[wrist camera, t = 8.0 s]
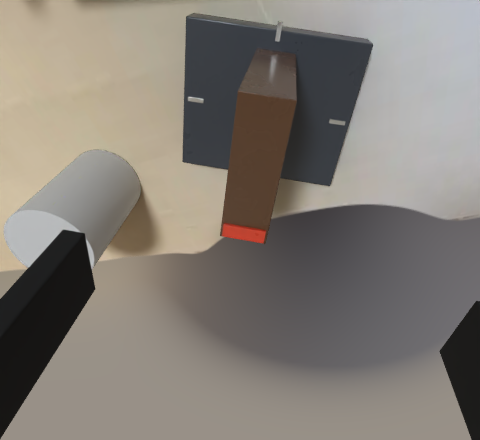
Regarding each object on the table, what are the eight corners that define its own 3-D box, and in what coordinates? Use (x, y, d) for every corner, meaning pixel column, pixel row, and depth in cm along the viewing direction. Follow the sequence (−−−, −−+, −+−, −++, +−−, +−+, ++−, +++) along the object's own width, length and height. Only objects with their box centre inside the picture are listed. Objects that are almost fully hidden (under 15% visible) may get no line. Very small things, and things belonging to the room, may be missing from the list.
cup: (58, 157, 41) (-15, 217, 31) (122, 143, 39) (65, 203, 29) (92, 215, 45) (36, 284, 35) (151, 206, 43) (109, 276, 33)
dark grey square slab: (370, 31, 30) (376, 36, 28) (326, 179, 38) (328, 192, 36) (193, 4, 30) (185, 7, 28) (188, 157, 39) (181, 168, 36)
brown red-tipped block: (257, 47, 29) (237, 91, 19) (295, 54, 29) (297, 101, 19) (241, 158, 35) (219, 238, 25) (273, 163, 35) (265, 246, 25)
